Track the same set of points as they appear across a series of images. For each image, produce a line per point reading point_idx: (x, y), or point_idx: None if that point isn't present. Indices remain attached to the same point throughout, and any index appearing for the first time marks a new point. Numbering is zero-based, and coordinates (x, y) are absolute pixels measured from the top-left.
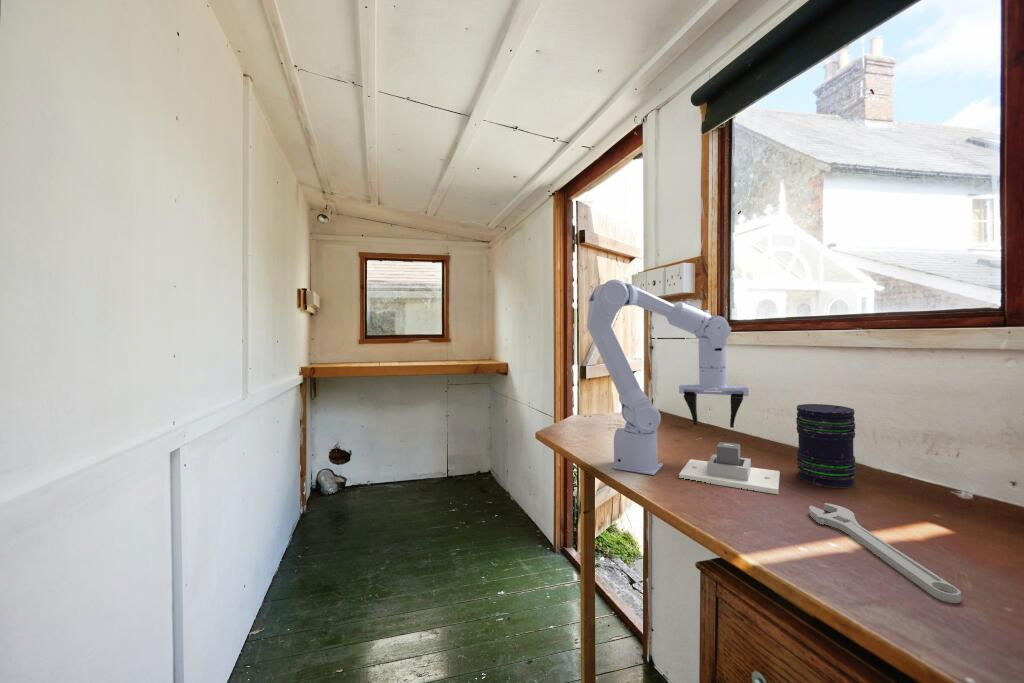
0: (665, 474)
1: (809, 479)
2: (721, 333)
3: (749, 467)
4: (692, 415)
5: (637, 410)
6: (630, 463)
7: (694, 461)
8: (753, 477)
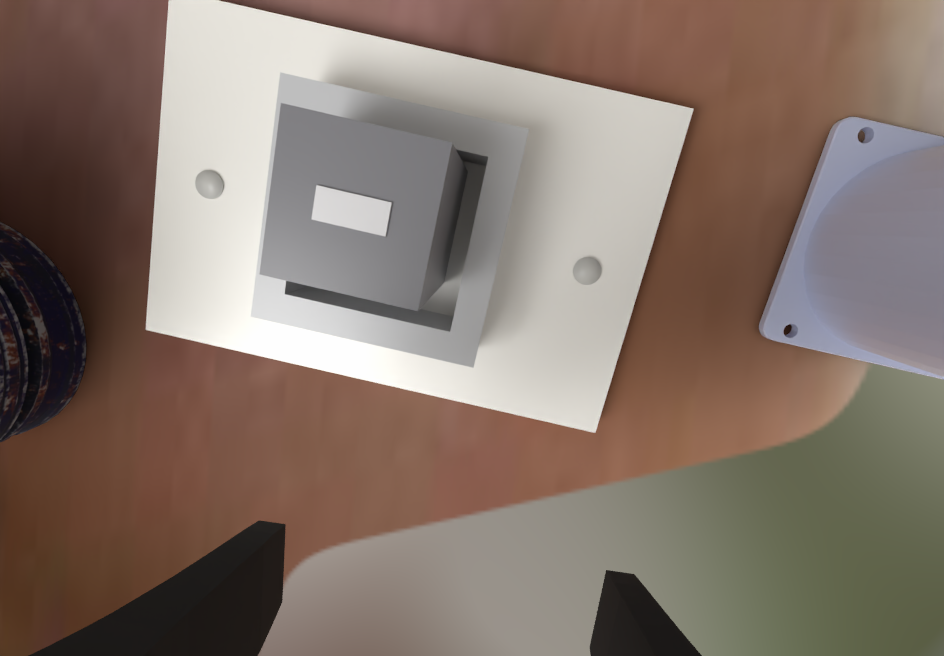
0: (755, 175)
1: (26, 256)
2: None
3: None
4: (693, 652)
5: None
6: None
7: (575, 393)
8: None
